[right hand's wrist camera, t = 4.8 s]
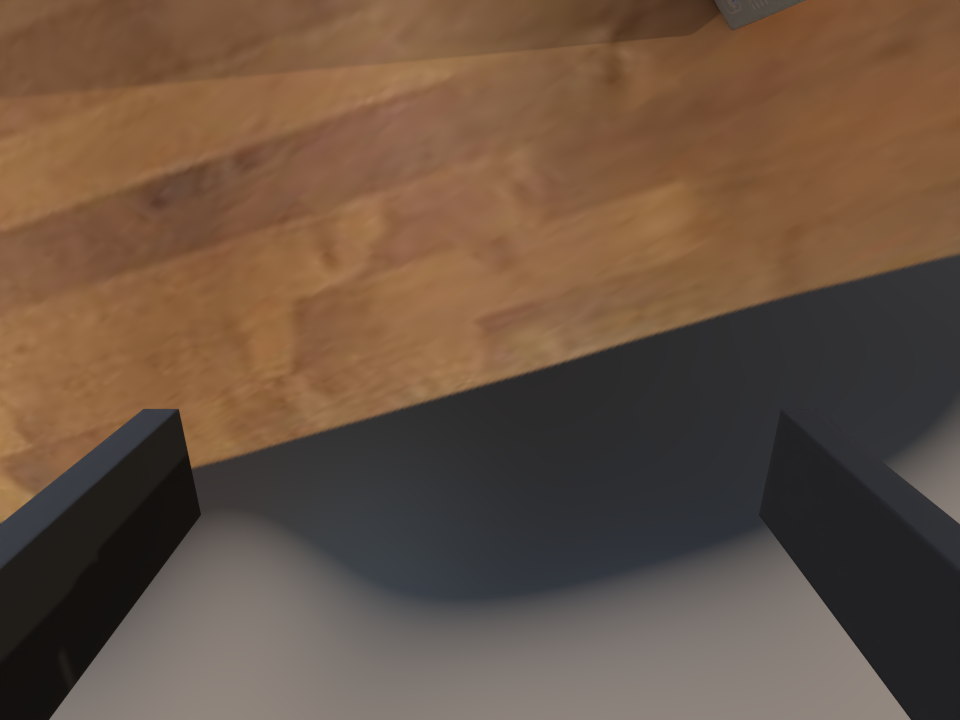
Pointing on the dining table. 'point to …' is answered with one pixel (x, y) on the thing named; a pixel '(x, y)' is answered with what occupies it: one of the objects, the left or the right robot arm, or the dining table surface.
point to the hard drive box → (750, 10)
